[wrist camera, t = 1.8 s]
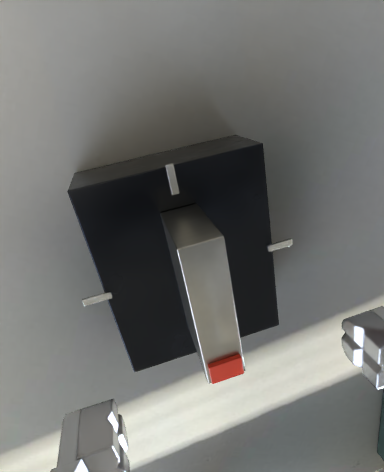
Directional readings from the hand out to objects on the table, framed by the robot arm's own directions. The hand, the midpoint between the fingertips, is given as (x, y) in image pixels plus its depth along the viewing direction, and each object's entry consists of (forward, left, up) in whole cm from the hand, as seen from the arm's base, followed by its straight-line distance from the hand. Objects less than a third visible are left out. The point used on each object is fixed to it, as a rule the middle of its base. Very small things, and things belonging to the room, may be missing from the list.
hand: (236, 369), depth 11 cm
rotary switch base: (0, 0, -10) cm, 10 cm away
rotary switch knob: (0, 0, -7) cm, 7 cm away
